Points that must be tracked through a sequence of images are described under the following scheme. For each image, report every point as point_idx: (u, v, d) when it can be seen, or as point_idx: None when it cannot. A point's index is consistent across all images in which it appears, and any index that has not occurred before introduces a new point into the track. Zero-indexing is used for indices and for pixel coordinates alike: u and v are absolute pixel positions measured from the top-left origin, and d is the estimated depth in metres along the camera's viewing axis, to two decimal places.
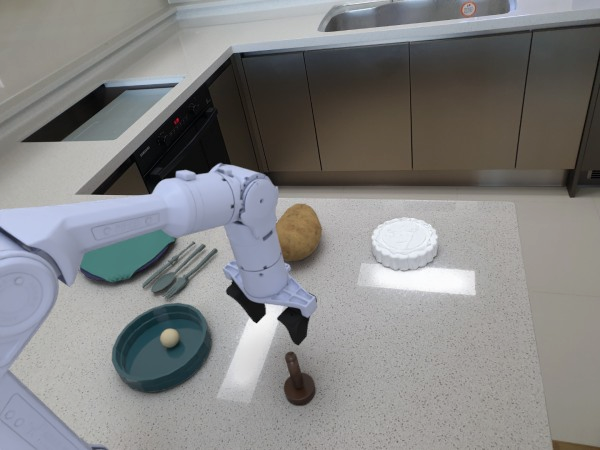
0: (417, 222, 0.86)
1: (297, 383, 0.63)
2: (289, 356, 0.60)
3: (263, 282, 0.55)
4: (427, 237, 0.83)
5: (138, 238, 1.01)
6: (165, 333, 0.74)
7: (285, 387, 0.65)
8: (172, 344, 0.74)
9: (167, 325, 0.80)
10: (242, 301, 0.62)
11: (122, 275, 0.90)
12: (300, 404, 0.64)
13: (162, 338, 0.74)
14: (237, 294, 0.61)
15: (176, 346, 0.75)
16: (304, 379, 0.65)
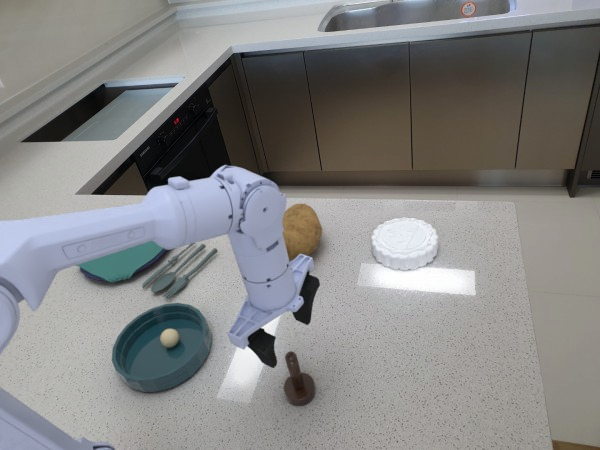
0: (417, 222, 0.86)
1: (297, 383, 0.63)
2: (289, 356, 0.60)
3: None
4: (427, 237, 0.83)
5: None
6: (165, 333, 0.74)
7: (285, 387, 0.65)
8: (172, 344, 0.74)
9: (167, 325, 0.80)
10: None
11: (122, 275, 0.90)
12: (300, 404, 0.64)
13: (162, 338, 0.74)
14: None
15: (176, 346, 0.75)
16: (304, 379, 0.65)
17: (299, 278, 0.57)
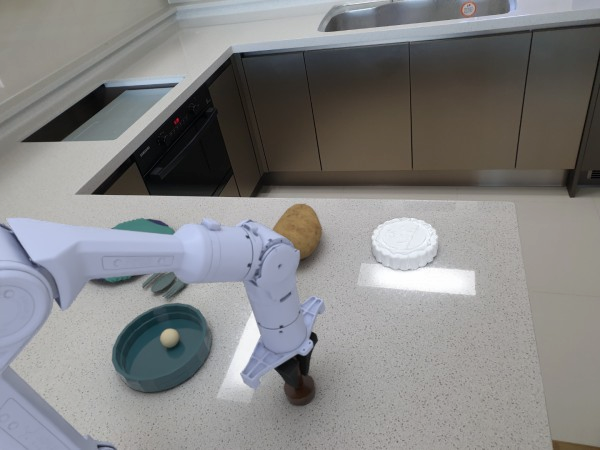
0: (417, 222, 0.86)
1: None
2: None
3: None
4: (427, 237, 0.83)
5: None
6: (165, 333, 0.74)
7: (285, 387, 0.65)
8: (172, 344, 0.74)
9: (167, 325, 0.80)
10: None
11: None
12: (300, 404, 0.64)
13: (162, 338, 0.74)
14: None
15: (176, 346, 0.75)
16: (304, 379, 0.65)
17: (310, 320, 0.60)
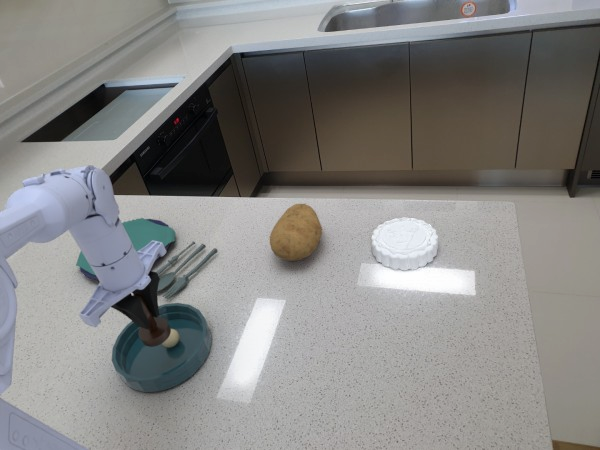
0: (417, 222, 0.86)
1: None
2: None
3: None
4: (427, 237, 0.83)
5: (138, 238, 1.01)
6: None
7: (140, 332, 0.68)
8: (172, 344, 0.74)
9: None
10: None
11: None
12: (155, 344, 0.67)
13: None
14: None
15: (176, 346, 0.75)
16: (158, 322, 0.69)
17: (149, 261, 0.64)
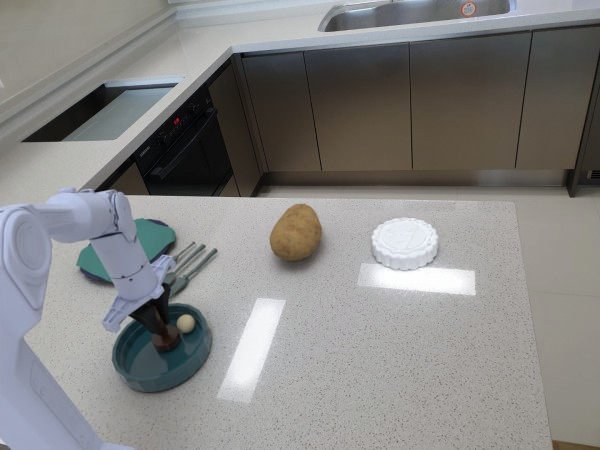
0: (417, 222, 0.86)
1: None
2: None
3: None
4: (427, 237, 0.83)
5: (138, 238, 1.01)
6: None
7: (153, 337, 0.75)
8: (191, 324, 0.76)
9: None
10: None
11: None
12: (165, 350, 0.74)
13: (192, 317, 0.78)
14: None
15: (176, 346, 0.75)
16: (170, 330, 0.76)
17: (161, 273, 0.71)
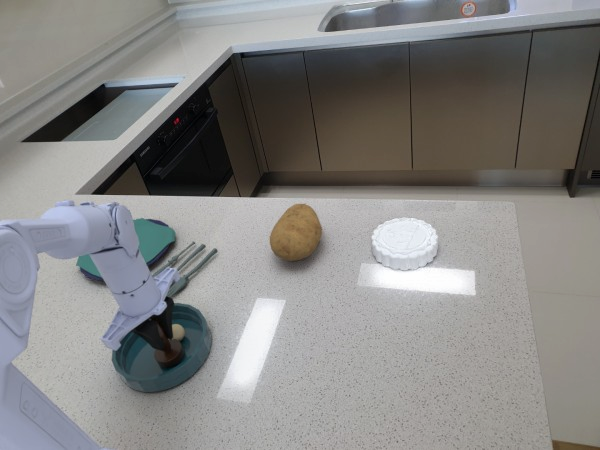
0: (417, 222, 0.86)
1: None
2: None
3: None
4: (427, 237, 0.83)
5: None
6: (176, 325, 0.75)
7: (155, 352, 0.73)
8: (177, 338, 0.74)
9: None
10: None
11: None
12: (168, 366, 0.71)
13: None
14: None
15: None
16: (173, 344, 0.73)
17: (165, 287, 0.68)
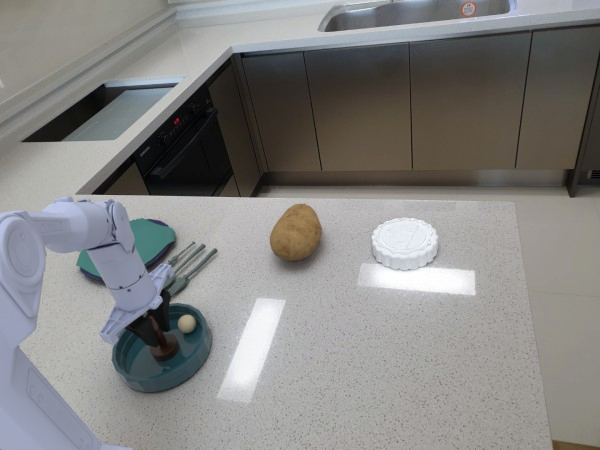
0: (417, 222, 0.86)
1: (159, 341, 0.73)
2: (146, 317, 0.70)
3: None
4: (427, 237, 0.83)
5: (138, 238, 1.01)
6: None
7: (151, 347, 0.74)
8: (192, 325, 0.76)
9: None
10: None
11: None
12: (164, 359, 0.73)
13: (193, 317, 0.78)
14: None
15: None
16: (168, 339, 0.75)
17: (160, 282, 0.70)
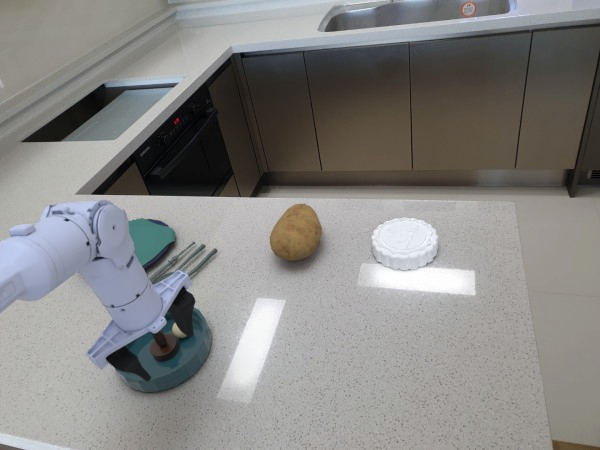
0: (417, 222, 0.86)
1: (159, 341, 0.73)
2: None
3: None
4: (427, 237, 0.83)
5: (138, 238, 1.01)
6: None
7: (151, 347, 0.74)
8: None
9: (167, 325, 0.80)
10: None
11: None
12: (164, 359, 0.73)
13: None
14: None
15: None
16: (168, 339, 0.75)
17: (170, 296, 0.57)
